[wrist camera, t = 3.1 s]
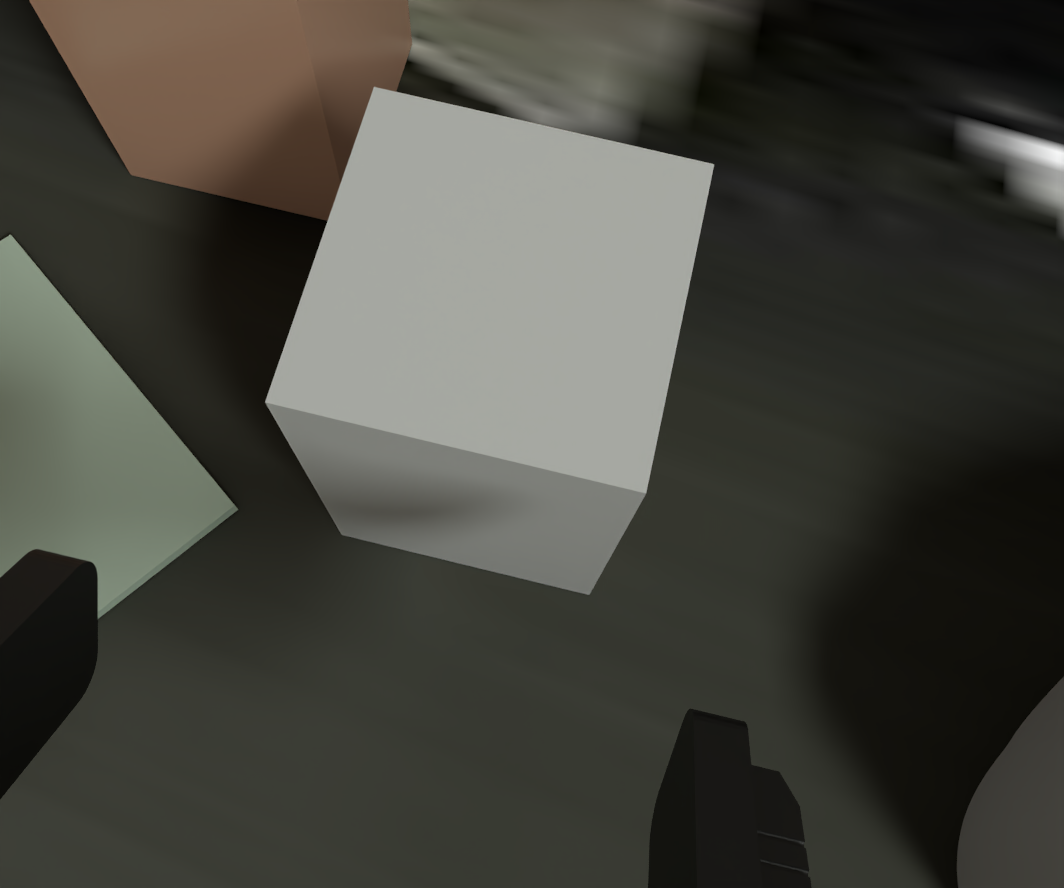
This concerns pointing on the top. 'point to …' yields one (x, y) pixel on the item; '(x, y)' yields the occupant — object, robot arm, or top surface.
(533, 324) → the light grey rectangular block
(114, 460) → the green mat
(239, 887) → the top surface
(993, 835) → the lumpy-topped squat cylinder
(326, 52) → the salmon brown rectangular block
